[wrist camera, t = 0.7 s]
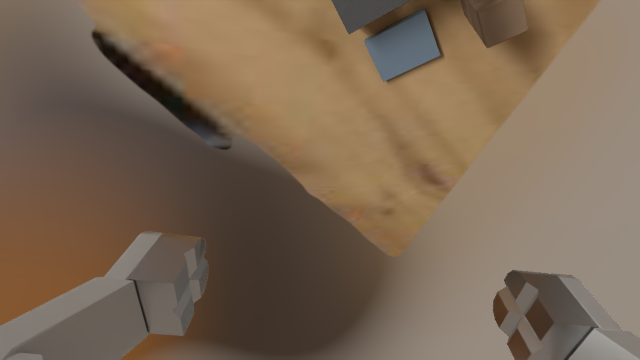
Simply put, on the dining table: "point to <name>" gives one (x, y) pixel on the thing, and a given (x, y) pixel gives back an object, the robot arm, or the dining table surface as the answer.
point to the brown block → (496, 19)
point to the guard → (363, 11)
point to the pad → (403, 46)
